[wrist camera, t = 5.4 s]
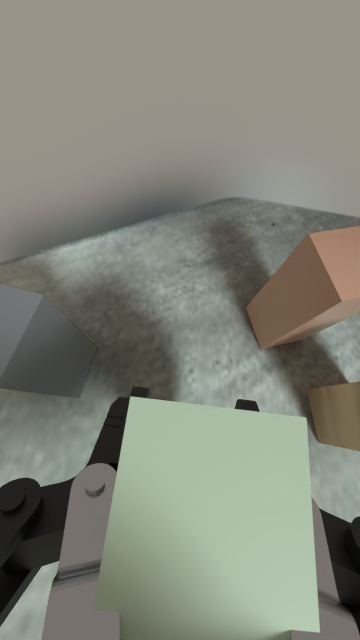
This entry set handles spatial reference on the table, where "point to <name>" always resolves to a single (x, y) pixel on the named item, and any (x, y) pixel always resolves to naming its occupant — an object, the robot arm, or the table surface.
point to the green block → (210, 526)
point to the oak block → (337, 414)
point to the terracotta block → (309, 289)
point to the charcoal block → (40, 346)
